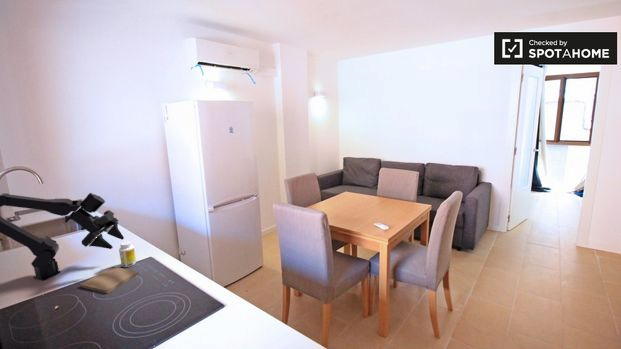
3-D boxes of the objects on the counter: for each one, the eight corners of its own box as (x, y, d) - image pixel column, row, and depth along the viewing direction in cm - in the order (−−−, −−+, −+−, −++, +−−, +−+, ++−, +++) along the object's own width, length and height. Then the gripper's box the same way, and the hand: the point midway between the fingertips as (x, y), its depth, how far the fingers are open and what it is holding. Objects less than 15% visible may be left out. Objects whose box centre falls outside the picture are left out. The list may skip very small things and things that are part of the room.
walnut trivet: (107, 293, 113) (107, 290, 112) (80, 287, 117) (80, 284, 117) (138, 274, 126) (138, 271, 125) (113, 268, 130) (113, 266, 130)
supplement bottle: (138, 260, 137) (135, 239, 134) (132, 267, 131) (129, 245, 129) (125, 261, 136) (122, 240, 134) (119, 268, 131) (115, 246, 129)
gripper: (84, 215, 118) (118, 239, 122) (110, 200, 136) (139, 222, 140) (66, 234, 119) (101, 258, 123) (95, 217, 137) (124, 239, 141)
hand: (117, 243), depth 131 cm, fingers open, 9 cm apart
